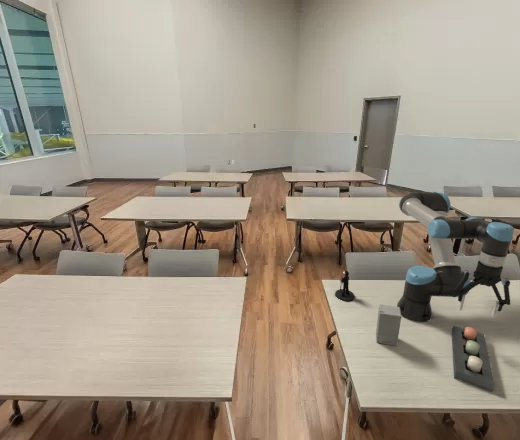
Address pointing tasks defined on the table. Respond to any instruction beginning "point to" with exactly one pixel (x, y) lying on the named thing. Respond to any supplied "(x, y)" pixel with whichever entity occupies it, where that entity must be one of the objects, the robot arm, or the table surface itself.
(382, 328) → the skincare box
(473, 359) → the white glossy ball
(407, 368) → the table surface
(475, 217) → the robot arm
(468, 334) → the coral button
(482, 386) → the panel
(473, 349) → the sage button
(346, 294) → the figurine
